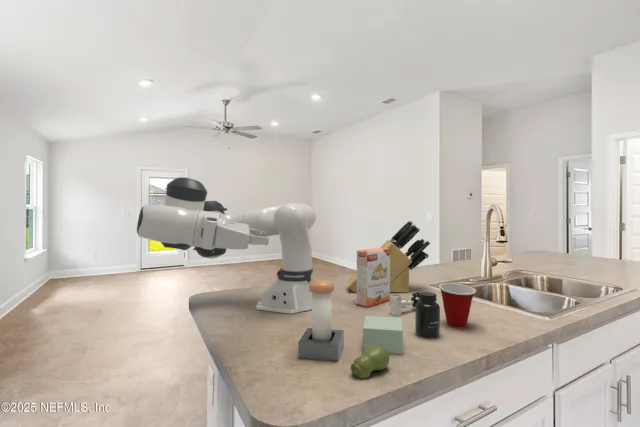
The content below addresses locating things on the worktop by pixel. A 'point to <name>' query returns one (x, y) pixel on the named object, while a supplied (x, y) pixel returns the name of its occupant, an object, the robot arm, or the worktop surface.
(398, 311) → the valve
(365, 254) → the cracker box
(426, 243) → the knife block
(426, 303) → the supplement bottle
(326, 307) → the end plug
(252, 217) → the robot arm
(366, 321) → the parts stand
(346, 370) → the worktop surface
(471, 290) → the plastic cup
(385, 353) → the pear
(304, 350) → the block
